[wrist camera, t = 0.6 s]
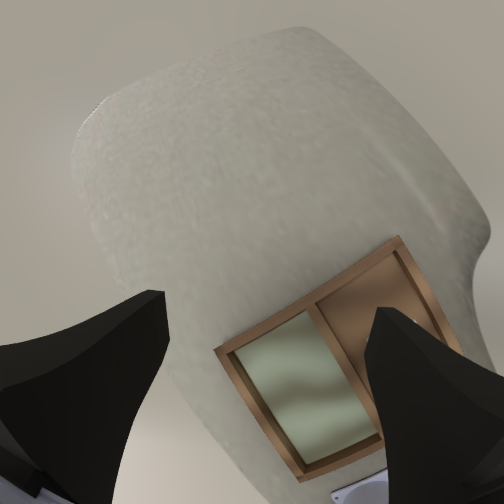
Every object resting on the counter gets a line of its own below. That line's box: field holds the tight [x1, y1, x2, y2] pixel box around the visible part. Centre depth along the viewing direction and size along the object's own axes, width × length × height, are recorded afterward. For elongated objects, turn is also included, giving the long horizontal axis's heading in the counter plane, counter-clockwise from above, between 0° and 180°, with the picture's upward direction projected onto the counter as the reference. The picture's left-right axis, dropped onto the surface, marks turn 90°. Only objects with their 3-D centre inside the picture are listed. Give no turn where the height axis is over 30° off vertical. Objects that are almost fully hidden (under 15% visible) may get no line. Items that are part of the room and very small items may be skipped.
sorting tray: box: [214, 235, 464, 483], centre depth 27 cm, size 18×21×3 cm
